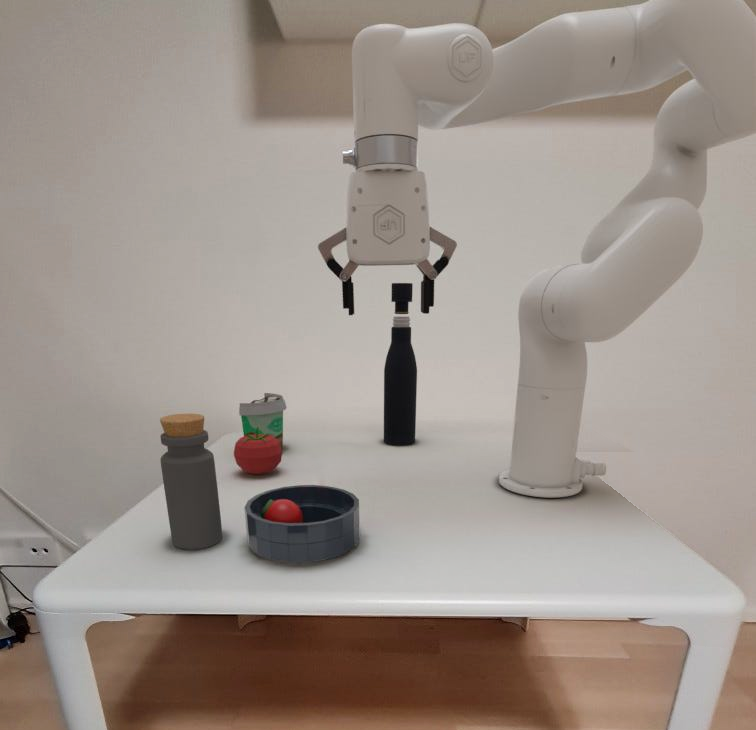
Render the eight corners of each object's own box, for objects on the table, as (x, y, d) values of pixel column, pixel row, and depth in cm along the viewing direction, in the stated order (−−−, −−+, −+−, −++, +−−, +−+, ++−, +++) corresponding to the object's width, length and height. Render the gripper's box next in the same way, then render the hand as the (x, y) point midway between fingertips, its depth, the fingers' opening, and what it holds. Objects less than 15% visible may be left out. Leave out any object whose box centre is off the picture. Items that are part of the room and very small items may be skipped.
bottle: (204, 526, 70) (190, 410, 64) (232, 538, 66) (220, 416, 61) (162, 541, 66) (143, 418, 60) (190, 554, 62) (172, 425, 57)
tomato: (292, 473, 91) (289, 428, 88) (249, 483, 86) (245, 435, 83) (268, 463, 96) (265, 420, 94) (227, 471, 92) (223, 426, 89)
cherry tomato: (312, 508, 67) (279, 488, 67) (305, 515, 62) (269, 494, 62) (294, 539, 67) (261, 520, 67) (285, 548, 63) (250, 527, 63)
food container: (274, 460, 98) (271, 405, 94) (243, 458, 99) (238, 403, 96) (297, 443, 109) (295, 393, 106) (269, 441, 110) (265, 392, 107)
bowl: (359, 520, 72) (358, 484, 70) (359, 566, 59) (359, 524, 58) (258, 521, 71) (255, 485, 70) (238, 568, 59) (234, 525, 57)
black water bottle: (389, 446, 107) (390, 282, 96) (379, 439, 113) (380, 283, 102) (419, 444, 109) (424, 283, 98) (409, 437, 114) (412, 283, 104)
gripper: (311, 155, 61) (320, 316, 67) (464, 153, 62) (459, 313, 68) (315, 169, 68) (322, 314, 74) (452, 168, 69) (449, 311, 75)
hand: (388, 313), depth 71 cm, fingers open, 9 cm apart
